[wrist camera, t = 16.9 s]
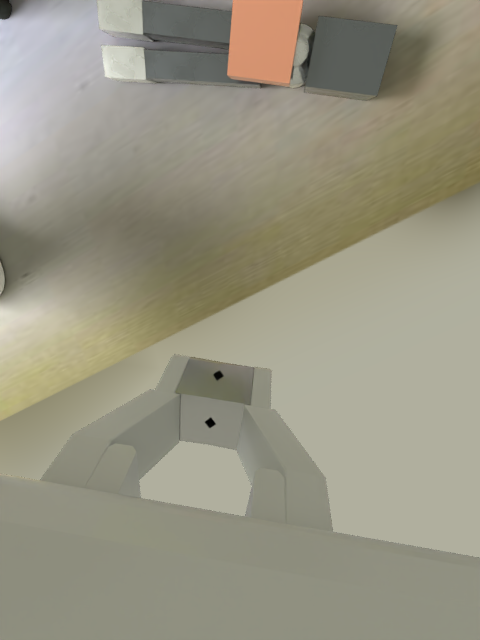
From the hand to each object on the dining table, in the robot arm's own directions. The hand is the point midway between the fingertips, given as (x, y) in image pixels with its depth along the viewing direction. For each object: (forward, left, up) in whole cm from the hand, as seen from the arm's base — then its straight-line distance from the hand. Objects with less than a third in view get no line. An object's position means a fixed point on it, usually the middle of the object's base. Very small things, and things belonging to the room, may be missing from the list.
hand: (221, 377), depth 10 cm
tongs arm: (-8, +11, -30) cm, 33 cm away
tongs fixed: (-5, +12, -30) cm, 33 cm away
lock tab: (-2, +12, -26) cm, 29 cm away
